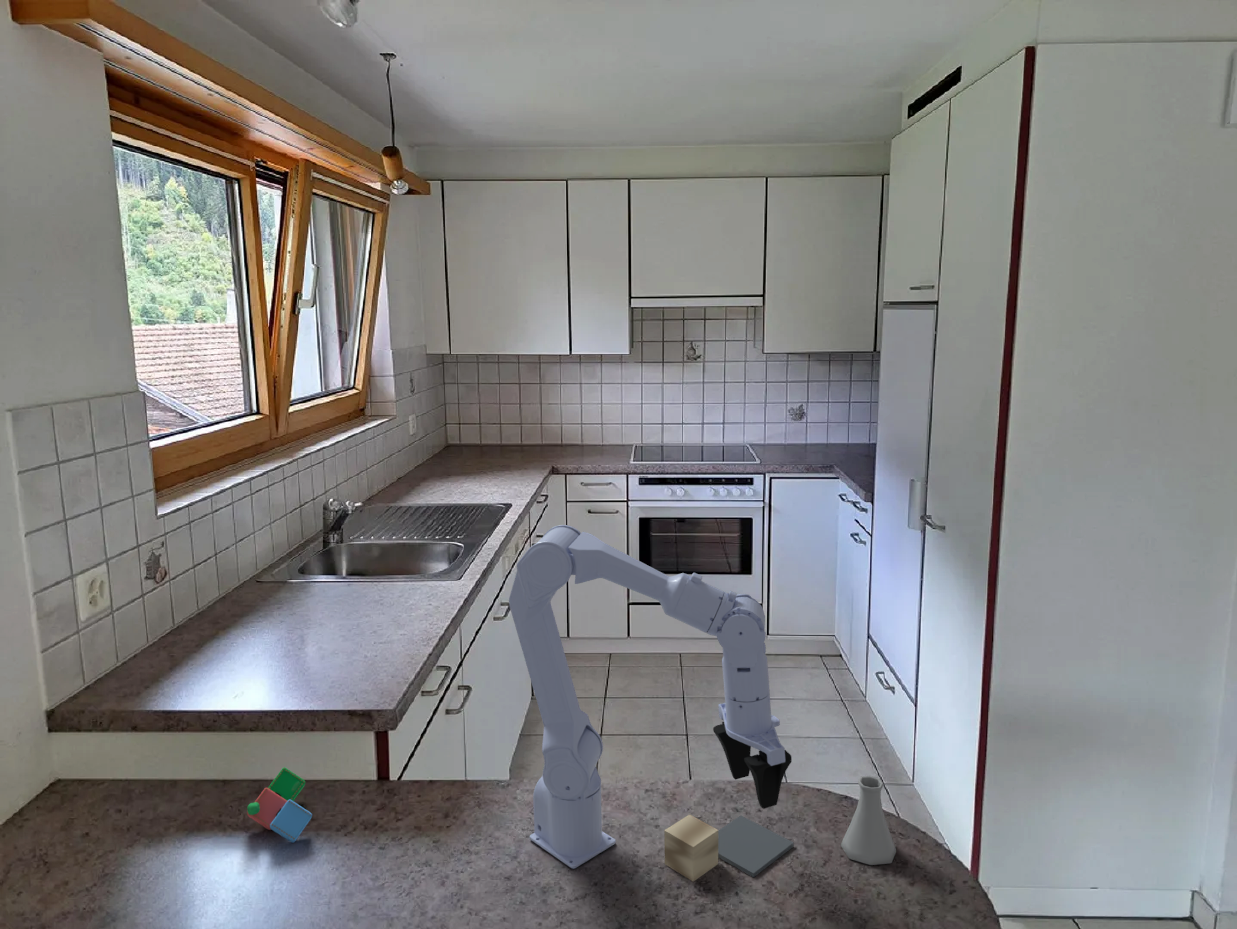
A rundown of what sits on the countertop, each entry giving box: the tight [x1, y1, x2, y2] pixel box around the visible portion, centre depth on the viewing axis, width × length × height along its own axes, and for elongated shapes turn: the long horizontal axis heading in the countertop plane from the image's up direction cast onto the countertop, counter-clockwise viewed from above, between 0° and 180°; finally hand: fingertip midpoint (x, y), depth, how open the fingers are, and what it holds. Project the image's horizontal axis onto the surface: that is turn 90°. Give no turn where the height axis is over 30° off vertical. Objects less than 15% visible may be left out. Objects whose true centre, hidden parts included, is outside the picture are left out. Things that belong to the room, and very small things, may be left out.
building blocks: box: [246, 766, 313, 844], centre depth 120 cm, size 8×8×12 cm
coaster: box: [717, 815, 795, 878], centre depth 114 cm, size 9×9×1 cm
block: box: [663, 814, 719, 882], centre depth 110 cm, size 5×5×5 cm
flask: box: [840, 775, 897, 866], centre depth 112 cm, size 7×7×10 cm
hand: (754, 790), depth 109 cm, fingers open, 7 cm apart
